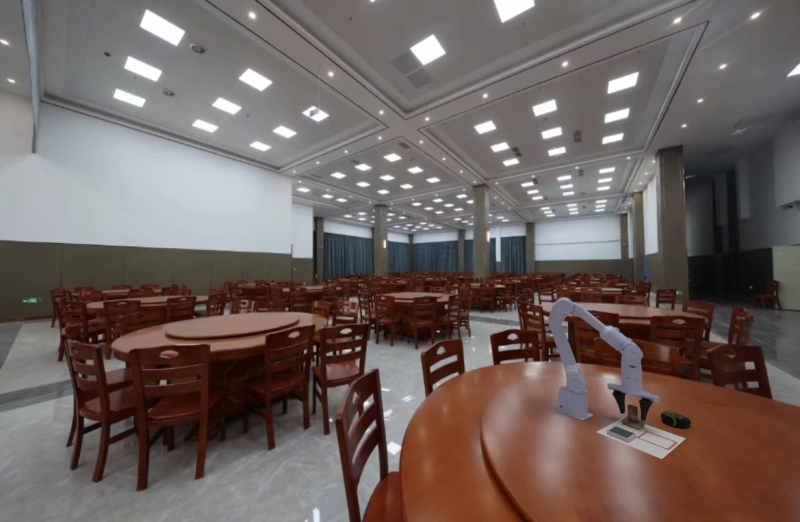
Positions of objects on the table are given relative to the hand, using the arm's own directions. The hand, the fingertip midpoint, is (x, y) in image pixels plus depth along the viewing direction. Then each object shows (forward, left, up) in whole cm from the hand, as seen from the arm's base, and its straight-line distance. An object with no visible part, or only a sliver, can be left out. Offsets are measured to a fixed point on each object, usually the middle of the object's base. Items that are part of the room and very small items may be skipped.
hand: (632, 416), depth 102 cm
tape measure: (+7, +15, -4) cm, 17 cm away
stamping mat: (+4, -6, -3) cm, 8 cm away
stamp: (0, 0, -3) cm, 3 cm away
